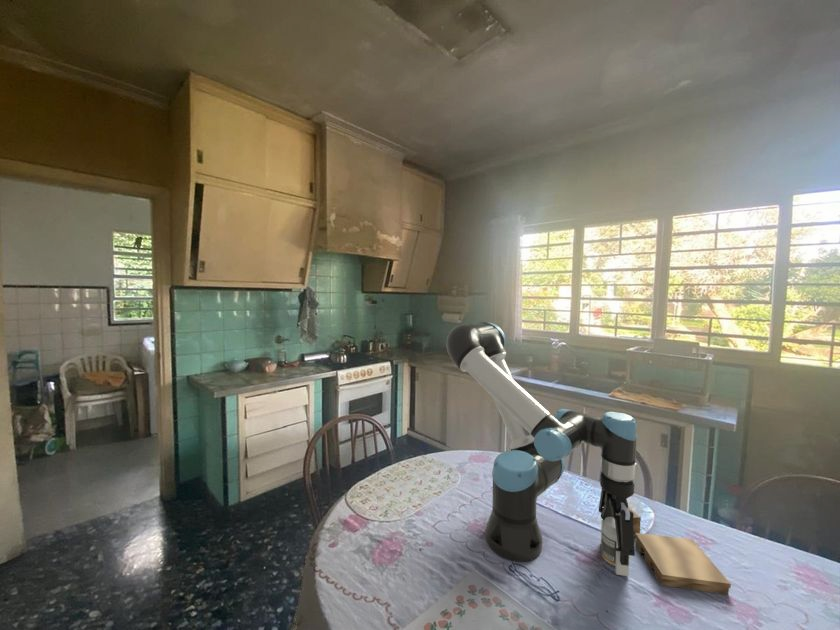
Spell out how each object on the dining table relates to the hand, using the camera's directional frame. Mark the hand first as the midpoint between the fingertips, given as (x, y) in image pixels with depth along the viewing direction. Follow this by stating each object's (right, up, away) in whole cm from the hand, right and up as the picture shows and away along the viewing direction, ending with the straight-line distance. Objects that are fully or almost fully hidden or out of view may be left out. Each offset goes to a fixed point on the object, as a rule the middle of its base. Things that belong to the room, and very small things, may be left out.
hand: (613, 558), depth 87 cm
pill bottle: (0, 0, 0) cm, 0 cm away
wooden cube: (+10, 0, +11) cm, 15 cm away
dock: (+15, 0, -3) cm, 15 cm away
